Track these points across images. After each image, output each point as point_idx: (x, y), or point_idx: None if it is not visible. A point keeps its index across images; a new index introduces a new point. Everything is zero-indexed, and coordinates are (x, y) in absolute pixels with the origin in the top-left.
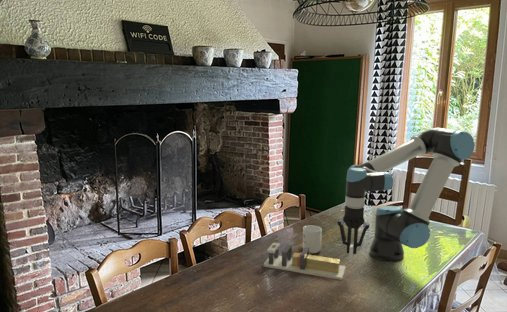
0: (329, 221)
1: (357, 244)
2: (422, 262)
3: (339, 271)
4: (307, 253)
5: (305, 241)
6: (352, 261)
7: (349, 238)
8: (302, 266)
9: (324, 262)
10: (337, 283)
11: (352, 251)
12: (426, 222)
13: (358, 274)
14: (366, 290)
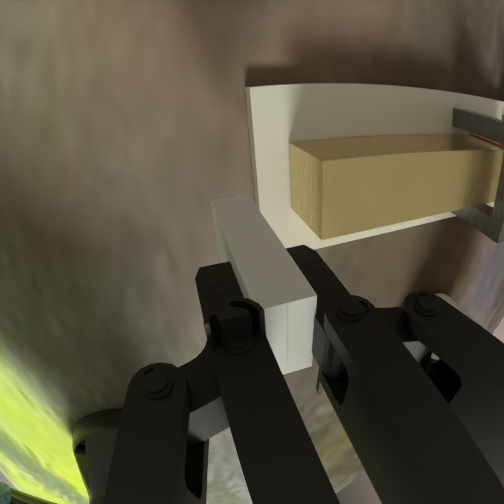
0: (352, 462)
1: (203, 389)
2: (18, 435)
3: (286, 170)
4: (485, 212)
5: (472, 319)
6: (212, 210)
7: (407, 416)
8: (472, 111)
9: (410, 150)
10: (261, 29)
11: (246, 264)
12: None
13: (163, 223)
14: (55, 42)
